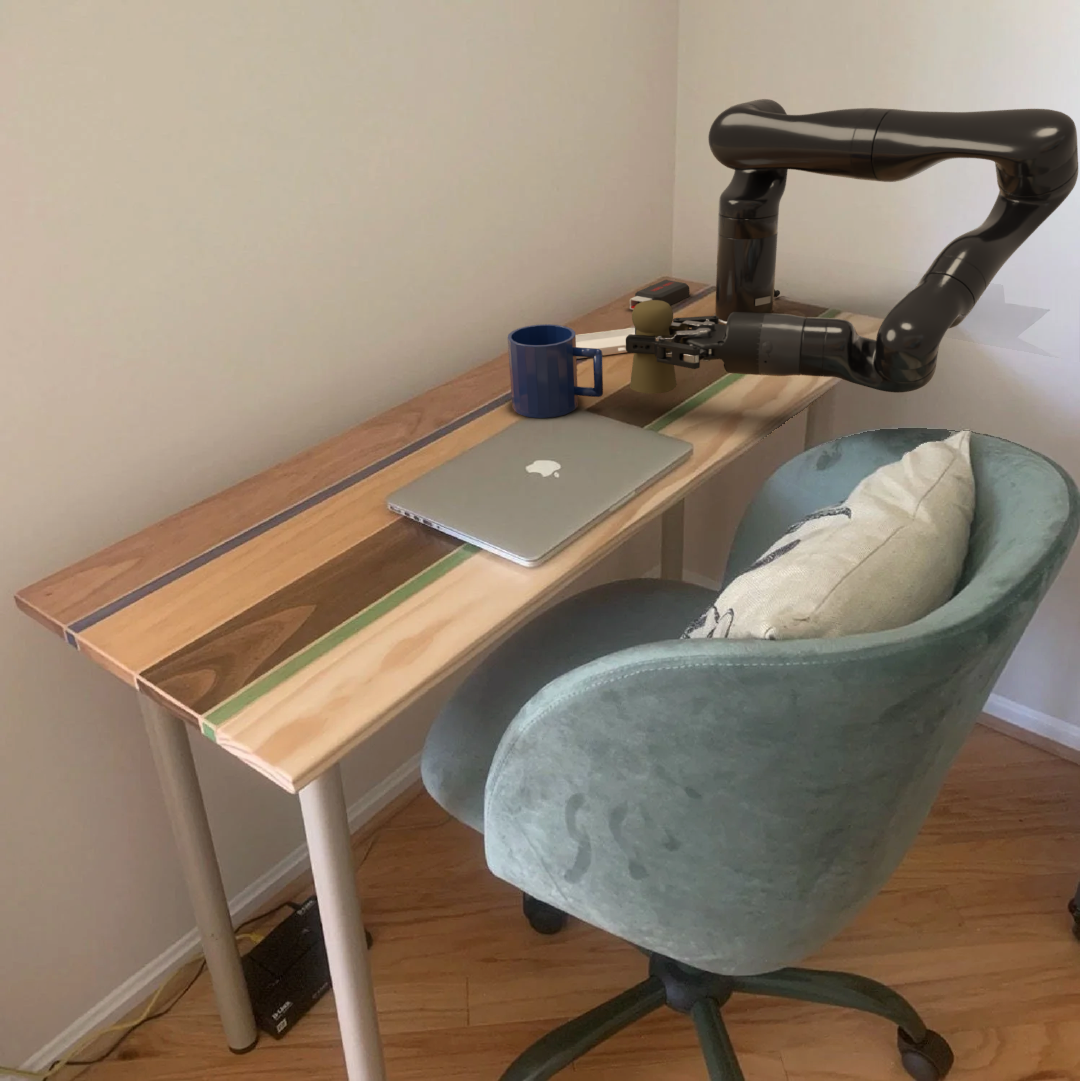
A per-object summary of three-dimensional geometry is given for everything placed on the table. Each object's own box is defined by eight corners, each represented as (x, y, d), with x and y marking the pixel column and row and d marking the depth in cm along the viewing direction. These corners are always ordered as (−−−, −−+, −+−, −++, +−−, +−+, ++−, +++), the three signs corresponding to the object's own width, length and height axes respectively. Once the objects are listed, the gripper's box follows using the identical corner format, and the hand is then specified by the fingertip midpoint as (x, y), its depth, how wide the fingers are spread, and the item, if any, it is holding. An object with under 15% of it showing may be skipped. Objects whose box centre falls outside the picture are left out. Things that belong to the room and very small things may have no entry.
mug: (502, 415, 140) (497, 343, 135) (525, 390, 147) (521, 322, 142) (593, 423, 136) (591, 350, 131) (612, 397, 143) (611, 327, 138)
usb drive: (689, 296, 182) (690, 280, 181) (650, 314, 174) (650, 298, 173) (665, 291, 185) (665, 276, 184) (625, 309, 178) (624, 293, 176)
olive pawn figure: (676, 376, 138) (676, 294, 132) (677, 393, 132) (677, 308, 127) (630, 377, 138) (628, 296, 133) (629, 394, 133) (627, 310, 128)
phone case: (640, 334, 166) (549, 346, 163) (640, 326, 165) (549, 337, 162) (655, 349, 160) (561, 361, 157) (655, 340, 159) (560, 352, 156)
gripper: (755, 394, 124) (616, 384, 129) (773, 354, 135) (645, 347, 141) (758, 333, 120) (615, 326, 126) (776, 297, 132) (644, 292, 137)
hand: (631, 337), depth 133 cm, fingers closed on olive pawn figure, 4 cm apart
